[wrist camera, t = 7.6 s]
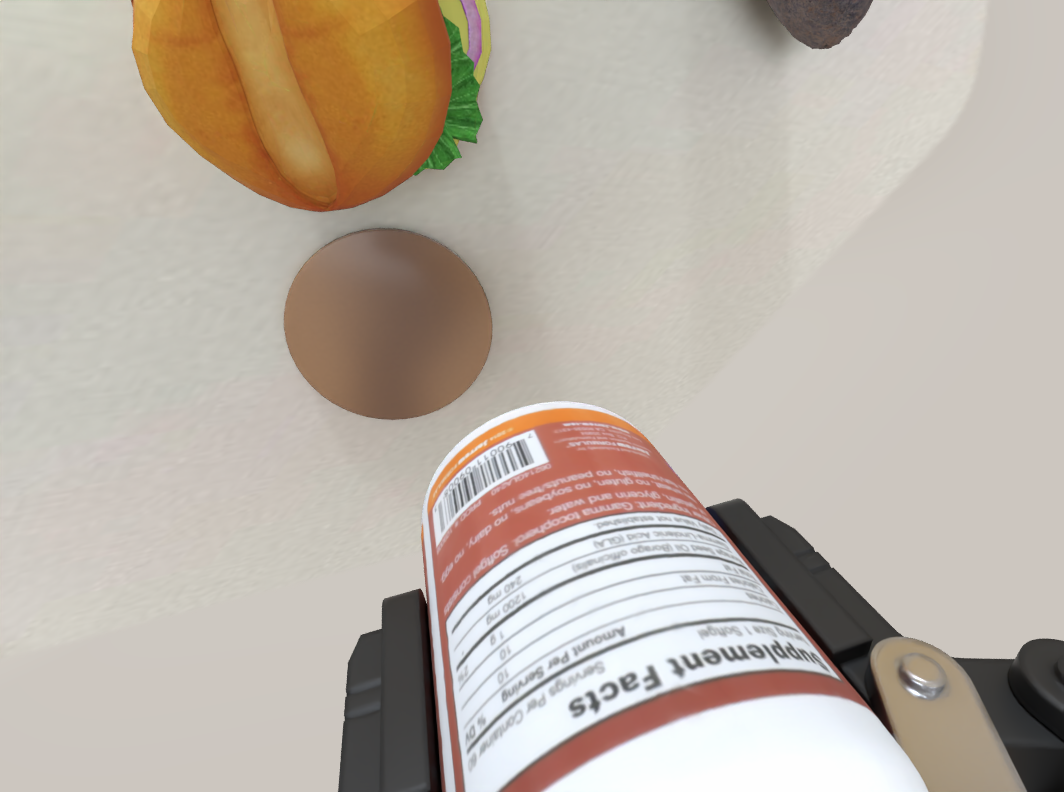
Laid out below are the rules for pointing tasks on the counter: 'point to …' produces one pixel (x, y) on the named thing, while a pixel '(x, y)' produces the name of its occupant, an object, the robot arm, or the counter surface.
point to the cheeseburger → (316, 89)
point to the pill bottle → (619, 630)
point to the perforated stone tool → (820, 19)
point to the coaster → (388, 324)
